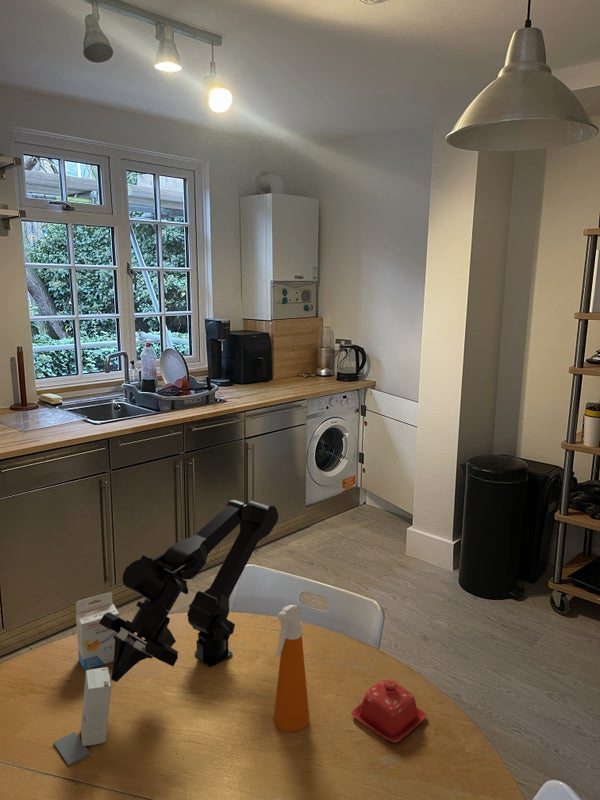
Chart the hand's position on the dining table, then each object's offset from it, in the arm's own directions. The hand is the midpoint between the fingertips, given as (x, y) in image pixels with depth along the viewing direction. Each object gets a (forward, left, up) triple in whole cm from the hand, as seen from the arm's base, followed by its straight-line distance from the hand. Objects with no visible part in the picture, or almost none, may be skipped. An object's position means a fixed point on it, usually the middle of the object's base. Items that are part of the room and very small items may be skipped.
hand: (113, 680), depth 116 cm
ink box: (-6, -20, -9) cm, 23 cm away
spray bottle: (-24, +24, -9) cm, 35 cm away
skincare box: (+5, +1, -9) cm, 10 cm away
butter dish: (-40, +36, -9) cm, 55 cm away
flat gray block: (+9, +1, -9) cm, 13 cm away
